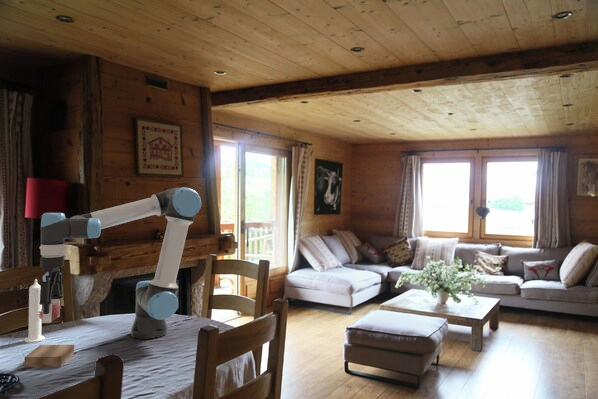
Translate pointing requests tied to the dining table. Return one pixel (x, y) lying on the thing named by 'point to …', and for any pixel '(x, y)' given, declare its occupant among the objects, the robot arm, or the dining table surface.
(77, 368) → the dining table surface
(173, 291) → the robot arm
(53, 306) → the flower
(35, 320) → the candle
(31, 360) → the walnut base
